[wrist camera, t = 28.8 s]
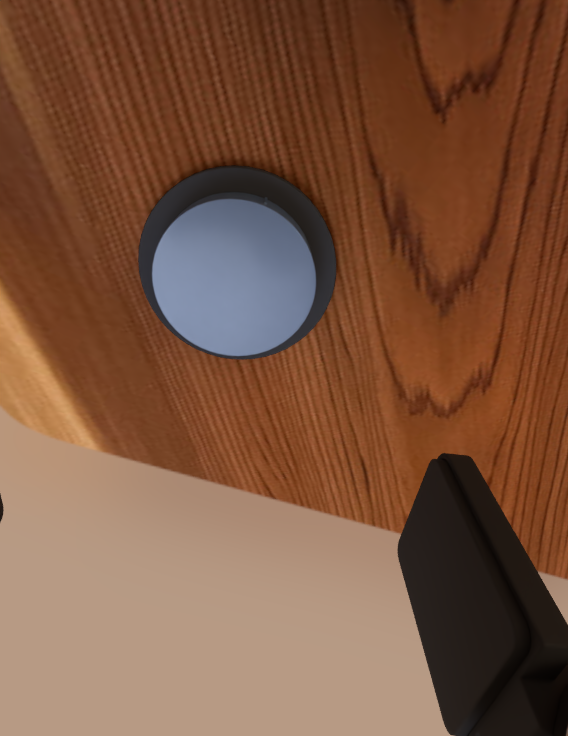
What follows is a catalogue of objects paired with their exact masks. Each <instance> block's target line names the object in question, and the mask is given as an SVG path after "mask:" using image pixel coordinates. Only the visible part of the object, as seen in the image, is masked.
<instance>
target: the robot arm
mask: <svg viewBox="0 0 568 736" xmlns="http://www.w3.org/2000/svg"><path fill="white" fill-rule="evenodd" d="M2 516H3V503H2V499H1V495H0V521H1V519H2ZM398 557H399V562H400V566H401V569H402V573H403V576H404V580H405V584H406V587H407V591H408V595H409V598H410V602H411V605H412V609H413V612H414V616H415V620H416V624H417V627H418V631H419V635H420V638H421V642H422V645H423V649H424V653H425V656H426V660H427V663H428V667H429V671H430V674H431V678H432V682H433V685H434V689H435V693H436V696H437V700H438V703H439V707H440V711H441V714H442V718H443V721H444V724H445V727H446V729H447V731H448V732H449V734H450V735H454V736H568V625H567V623H566V621H565V619H564V618H563V616H562V614H561V612H560V611H559V609H558V607H557V605H556V604H555V602H554V600H553V598H552V597H551V595H550V593H549V591H548V590H547V588H546V586H545V584H544V583H543V581H542V579H541V578H540V576H539V574H538V572H537V570H536V569H535V567H534V565H533V563H532V562H531V560H530V558H529V556H528V555H527V553H526V551H525V549H524V548H523V546H522V544H521V542H520V541H519V539H518V537H517V536H516V534H515V532H514V531H513V529H512V527H511V525H510V524H509V522H508V520H507V518H506V517H505V515H504V513H503V511H502V510H501V508H500V506H499V504H498V503H497V501H496V499H495V497H494V496H493V494H492V492H491V490H490V489H489V487H488V485H487V483H486V482H485V480H484V478H483V476H482V475H481V473H480V471H479V469H478V468H477V466H476V464H475V462H474V461H473V459H472V458H471V457H469V456H466V455H456V454H446V453H443V454H441V455H440V456H439V457H438V459H432V460H431V461H430V463H429V466H428V468H427V471H426V473H425V476H424V478H423V481H422V483H421V486H420V489H419V491H418V494H417V496H416V499H415V501H414V504H413V506H412V509H411V511H410V514H409V517H408V519H407V522H406V524H405V527H404V529H403V532H402V534H401V537H400V539H399V543H398Z"/></svg>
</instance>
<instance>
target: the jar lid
mask: <svg viewBox="0 0 568 736" xmlns="http://www.w3.org/2000/svg"><path fill="white" fill-rule="evenodd" d="M152 282H153V288H154V293H155V296H156V299H157V302H158V305H159V307H160V309H161V311H162V313H163V314H164V316H165V317H166V319H167V320H168V322H169V323H170V324H171V325H172V326H173V327H174V329H175V330H176V331H177V332H178V333H180V334H181V335H182V336H183V337H184V338H186V339H187V340H188V341H190V342H191V343H193V344H195V345H197V346H198V347H200V348H203V349H205V350H208V351H210V352H214V353H217V354H222V355H228V356H247V355H253V354H258V353H262V352H265V351H268V350H270V349H272V348H275V347H276V346H278V345H280V344H282V343H283V342H285V341H286V340H287V339H288V338H290V337H291V336H292V335H293V334H294V333H295V332H296V331H297V330H298V329H299V328H300V326H301V325H302V324H303V322H304V321H305V319H306V317H307V316H308V314H309V312H310V309H311V307H312V304H313V301H314V297H315V291H316V271H315V265H314V261H313V257H312V253H311V250H310V247H309V244H308V241H307V239H306V237H305V235H304V233H303V232H302V230H301V228H300V227H299V225H298V224H297V223H296V222H295V220H294V219H293V218H292V217H291V216H290V215H289V214H288V213H287V212H286V211H284V210H283V209H282V208H280V207H279V206H277V205H276V204H274V203H272V202H271V201H269V200H267V197H265V199H264V198H262V197H259V196H256V195H252V194H248V193H240V192H226V193H219V194H214V195H210V196H208V197H205V198H202V199H200V200H198V201H196V202H195V203H193V204H191V205H190V206H189V207H187V208H186V209H184V210H183V211H182V212H181V213H180V214H179V215H178V216H177V217H176V219H175V220H174V221H173V222H172V223H171V224H170V226H169V227H168V228H167V230H166V231H165V232H164V234H163V235H162V237H161V239H160V241H159V243H158V245H157V248H156V251H155V254H154V259H153V264H152Z"/></svg>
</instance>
